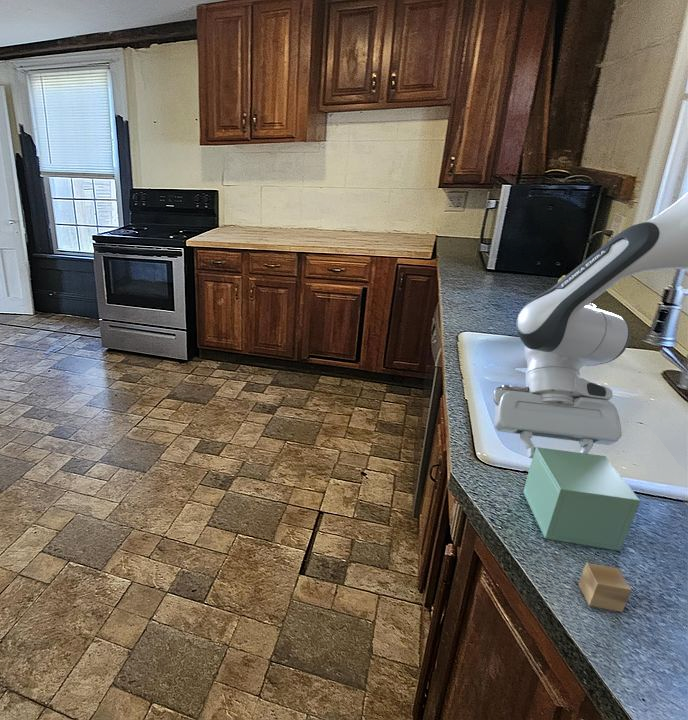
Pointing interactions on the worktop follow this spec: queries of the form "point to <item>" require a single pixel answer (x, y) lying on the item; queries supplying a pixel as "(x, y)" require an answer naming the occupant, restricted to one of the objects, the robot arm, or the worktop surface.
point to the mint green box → (580, 498)
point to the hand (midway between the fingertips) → (556, 460)
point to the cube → (604, 587)
